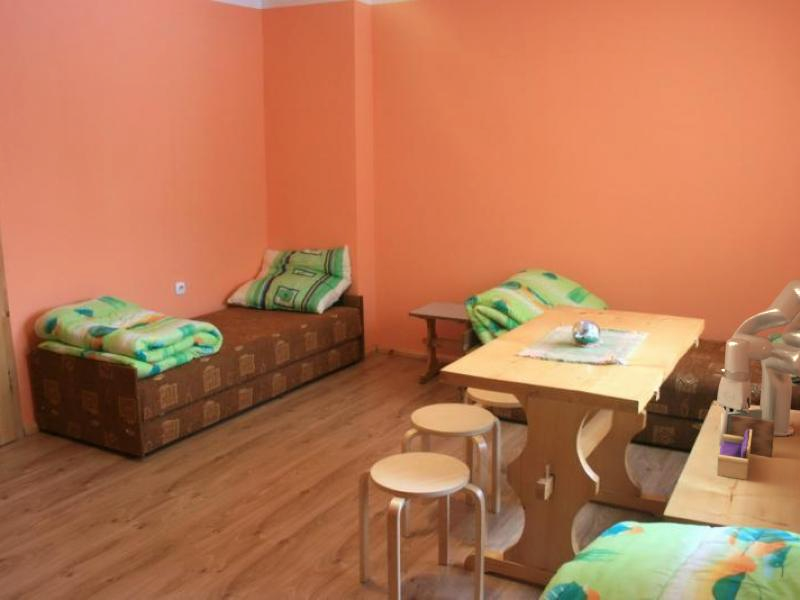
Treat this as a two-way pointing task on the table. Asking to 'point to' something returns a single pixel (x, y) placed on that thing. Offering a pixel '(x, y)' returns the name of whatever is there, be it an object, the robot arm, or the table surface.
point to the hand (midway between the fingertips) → (732, 426)
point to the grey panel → (727, 419)
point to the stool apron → (755, 433)
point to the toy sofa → (735, 455)
